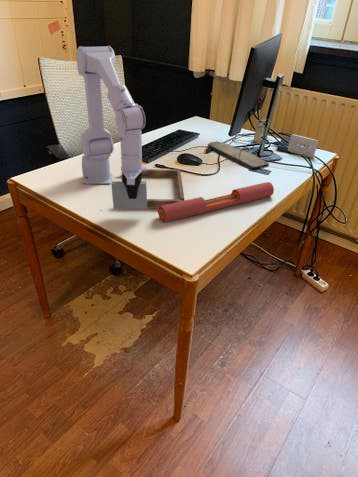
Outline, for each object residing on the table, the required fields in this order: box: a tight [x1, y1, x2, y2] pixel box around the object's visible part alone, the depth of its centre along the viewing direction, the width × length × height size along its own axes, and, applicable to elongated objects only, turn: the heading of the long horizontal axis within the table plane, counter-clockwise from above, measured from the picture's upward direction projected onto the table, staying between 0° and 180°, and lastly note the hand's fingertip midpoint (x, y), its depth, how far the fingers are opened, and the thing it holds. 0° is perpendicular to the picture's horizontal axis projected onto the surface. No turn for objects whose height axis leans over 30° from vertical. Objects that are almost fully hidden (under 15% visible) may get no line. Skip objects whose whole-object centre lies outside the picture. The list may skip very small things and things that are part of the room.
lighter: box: [253, 118, 267, 143], centre depth 168 cm, size 7×4×10 cm, turn 135°
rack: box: [121, 168, 185, 209], centre depth 123 cm, size 22×24×3 cm
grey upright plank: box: [110, 180, 148, 209], centre depth 106 cm, size 2×10×8 cm, turn 93°
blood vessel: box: [157, 181, 275, 223], centre depth 116 cm, size 42×5×5 cm, turn 118°
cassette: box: [287, 133, 319, 158], centre depth 157 cm, size 12×2×8 cm, turn 53°
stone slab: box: [207, 141, 270, 170], centre depth 154 cm, size 10×3×30 cm
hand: (132, 196), depth 106 cm, fingers closed on grey upright plank, 2 cm apart
